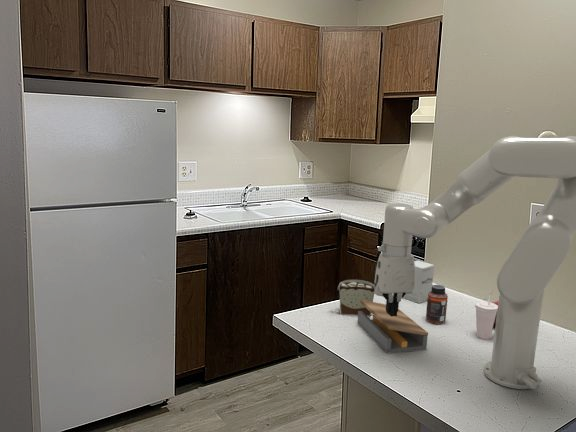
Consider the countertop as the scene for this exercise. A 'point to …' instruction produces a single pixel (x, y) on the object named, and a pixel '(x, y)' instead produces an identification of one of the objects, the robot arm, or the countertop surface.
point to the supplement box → (421, 282)
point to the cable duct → (391, 336)
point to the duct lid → (393, 318)
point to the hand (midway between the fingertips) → (391, 314)
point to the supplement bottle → (436, 305)
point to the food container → (355, 296)
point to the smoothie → (485, 317)
